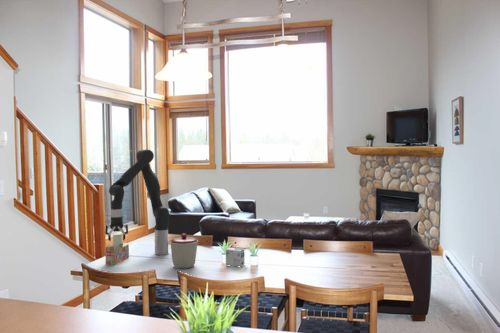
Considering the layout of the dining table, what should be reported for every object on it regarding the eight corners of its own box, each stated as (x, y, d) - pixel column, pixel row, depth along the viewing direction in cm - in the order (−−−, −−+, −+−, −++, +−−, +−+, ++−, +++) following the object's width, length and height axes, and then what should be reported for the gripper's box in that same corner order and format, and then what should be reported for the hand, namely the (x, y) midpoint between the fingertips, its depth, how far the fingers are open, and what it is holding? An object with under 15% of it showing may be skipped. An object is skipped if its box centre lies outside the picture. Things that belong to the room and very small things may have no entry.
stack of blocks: (120, 257, 294) (120, 239, 293) (129, 257, 293) (129, 239, 293) (105, 265, 273) (105, 246, 272) (114, 265, 272) (114, 246, 271)
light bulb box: (244, 265, 274) (244, 248, 274) (241, 267, 268) (241, 250, 268) (229, 263, 278) (229, 247, 278) (225, 266, 272) (225, 249, 271)
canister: (197, 262, 280) (197, 230, 279) (199, 270, 262) (199, 235, 262) (169, 263, 277) (169, 231, 276) (169, 271, 259) (169, 236, 258)
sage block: (121, 242, 284) (121, 233, 283) (121, 244, 279) (121, 234, 279) (113, 242, 282) (113, 233, 282) (113, 244, 278) (113, 235, 277)
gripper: (128, 214, 285) (128, 238, 285) (105, 215, 282) (106, 239, 282) (127, 216, 277) (127, 241, 278) (104, 217, 274) (104, 242, 275)
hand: (116, 240), depth 280 cm, fingers open, 8 cm apart
